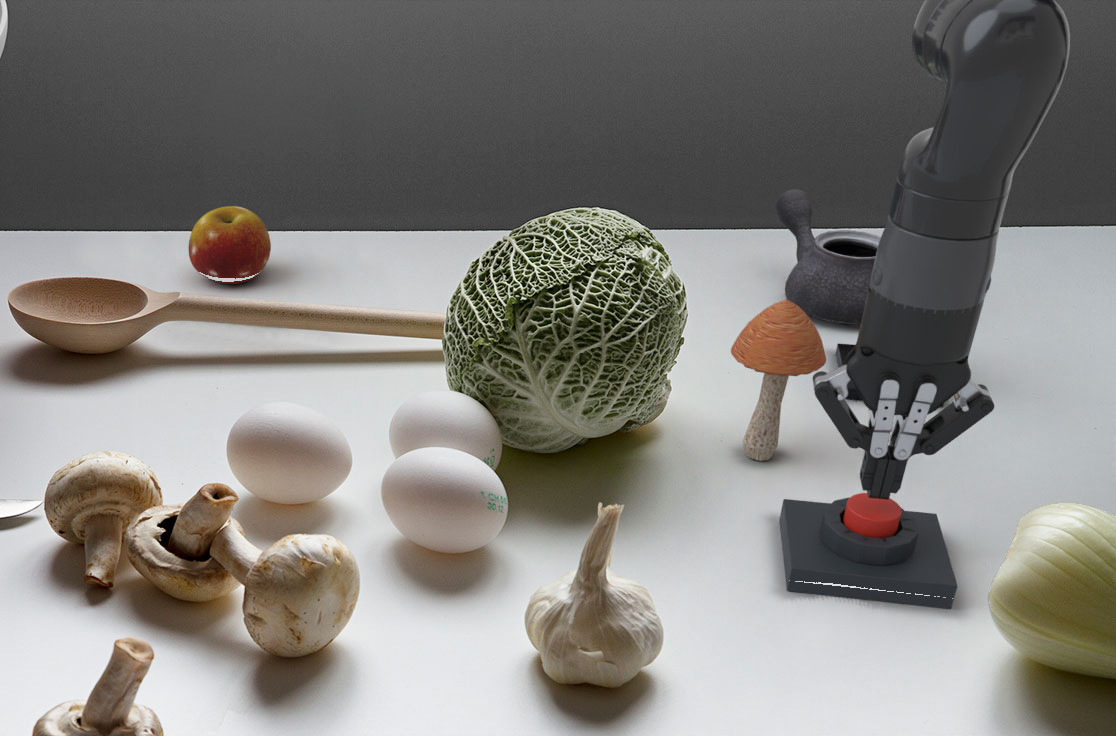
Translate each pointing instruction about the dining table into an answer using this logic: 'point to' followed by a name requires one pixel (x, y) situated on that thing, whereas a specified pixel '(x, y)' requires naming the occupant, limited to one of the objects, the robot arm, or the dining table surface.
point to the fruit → (229, 244)
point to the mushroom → (776, 366)
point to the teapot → (827, 264)
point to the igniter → (872, 516)
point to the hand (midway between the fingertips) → (876, 493)
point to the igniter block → (865, 556)
